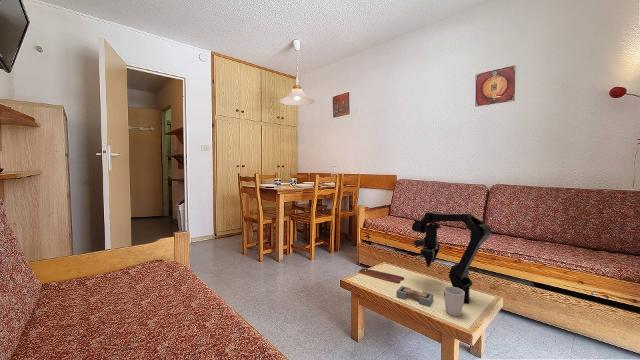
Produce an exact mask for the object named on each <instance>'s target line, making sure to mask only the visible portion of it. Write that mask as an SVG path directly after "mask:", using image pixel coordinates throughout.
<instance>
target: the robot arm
mask: <svg viewBox="0 0 640 360" xmlns="http://www.w3.org/2000/svg"><path fill="white" fill-rule="evenodd" d="M441 222H455V223H456V222H458V223H459V222H463V224H465V227H466V228H467V229H468V230H469V231H470V234H469V239H470V240H469V242H468V245H467V246H466V249H465V250H464V252H463V255H462V256H461V259H460V260H459V262H458V263H457V264H454V265H452V266H451V268H450V270H449V271H448V273H449V274H448V278H449V280H450V283H451V285H452V286H451V287H456V288H459V289H462V290H463V291H464V292H465V295H464V303H465V304H469V303H470V299H471V297H470V291H471V290H470V289H471V287H472V286H473V284H474V283H473V281H472V280H471V279H470V277H469V274H470V271H469V269H470V267H471V264H472V263H473V261H474V258H475V256H476V255H477V253H478V251H479V249H480V247H481V246H482V244H483V243H484V242H486V241H487V239H489V237H490V236H491V235H492V232H493V231H492V228H491V227H490V225H488V224H486V223H484V222H483V221H482V220H480V219H479V218H477V217H476V216H474V215H473V214H472V213H469V212H467V213H466V212H465V213H442V212H438V211H428V212H425V214H423V218H422V219H421V220H419V219H414V221H413V223H412V225H411V230H412V231H413V232H415V233H418V234H425V236H424V237H423V238H420V239H415V240H414V241H413V245H414V247H415V248H418V247H422V248H421V249H420V253H419V254H420V255H421V256H423V257H424V260H425V264H426V267H428V268H429V267H430V266H431V264H432V263H434V262H435V260H436V258H437V256H438V254H439V252H440V250H441V247H442V246H441V243H440V242H438V240H439V237H438V229H441V228H442V226H441V225H440V224H439V223H441ZM464 303H463V304H464Z"/></svg>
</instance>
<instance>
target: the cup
mask: <svg viewBox="0 0 640 360" xmlns="http://www.w3.org/2000/svg"><path fill="white" fill-rule="evenodd" d="M464 295H465V292H464V291H463V290H462V289H459V288H456V287H452V286H444V287H443V299H444V305H445V309H446V312H447V314H448V315H450V316H453V317H460V315H461V312H462V311H463V306H464Z"/></svg>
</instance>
